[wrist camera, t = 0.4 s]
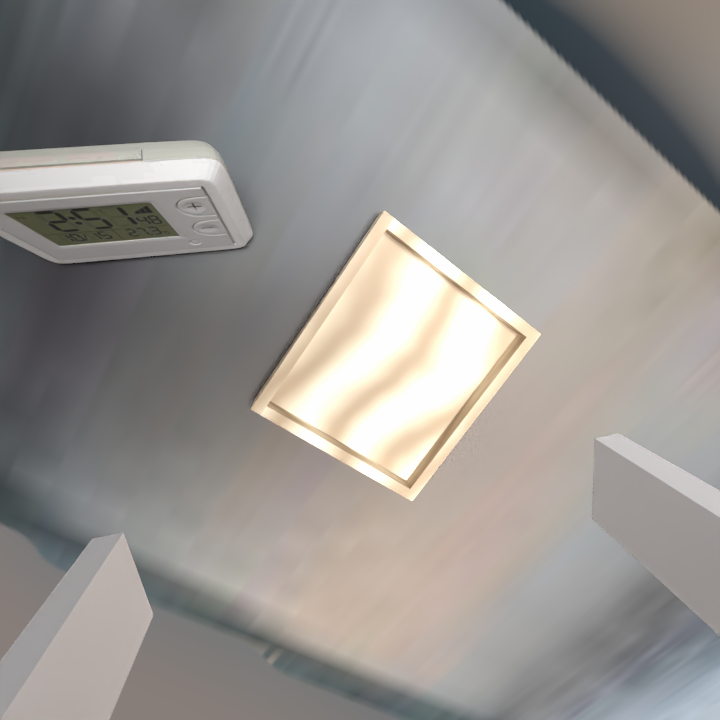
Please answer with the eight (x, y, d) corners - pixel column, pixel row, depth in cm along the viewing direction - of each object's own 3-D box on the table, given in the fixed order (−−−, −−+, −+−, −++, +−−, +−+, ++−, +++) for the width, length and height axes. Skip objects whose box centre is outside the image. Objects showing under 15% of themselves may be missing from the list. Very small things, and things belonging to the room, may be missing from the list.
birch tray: (254, 399, 36) (250, 409, 34) (378, 214, 33) (384, 210, 31) (405, 487, 40) (412, 501, 38) (526, 329, 38) (541, 334, 35)
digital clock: (44, 260, 31) (-85, 260, 21) (34, 136, 29) (-115, 68, 19) (252, 281, 34) (228, 290, 23) (257, 168, 31) (233, 124, 21)
